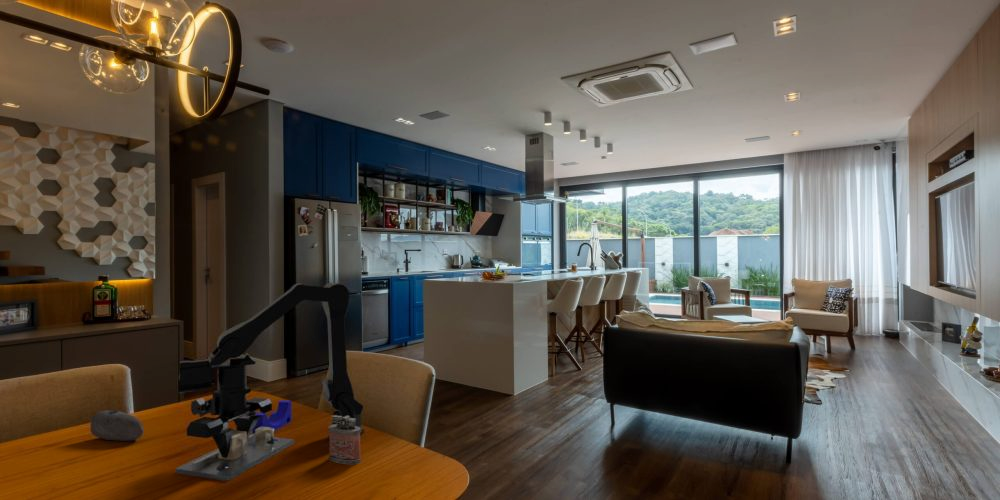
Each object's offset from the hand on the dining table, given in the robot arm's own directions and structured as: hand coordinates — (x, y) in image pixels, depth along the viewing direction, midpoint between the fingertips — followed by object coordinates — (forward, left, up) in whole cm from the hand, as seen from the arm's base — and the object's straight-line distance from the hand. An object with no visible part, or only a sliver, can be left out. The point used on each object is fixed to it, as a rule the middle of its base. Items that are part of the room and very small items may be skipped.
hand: (232, 453), depth 107 cm
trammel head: (-1, 0, 0) cm, 1 cm away
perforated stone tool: (+39, -3, -2) cm, 39 cm away
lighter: (-25, -7, -2) cm, 26 cm away
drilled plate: (0, -2, -2) cm, 2 cm away
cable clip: (+6, -19, -2) cm, 20 cm away
